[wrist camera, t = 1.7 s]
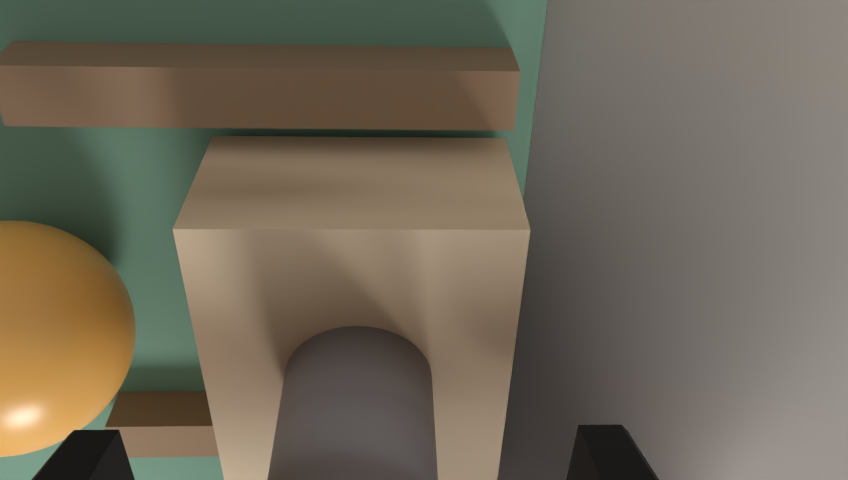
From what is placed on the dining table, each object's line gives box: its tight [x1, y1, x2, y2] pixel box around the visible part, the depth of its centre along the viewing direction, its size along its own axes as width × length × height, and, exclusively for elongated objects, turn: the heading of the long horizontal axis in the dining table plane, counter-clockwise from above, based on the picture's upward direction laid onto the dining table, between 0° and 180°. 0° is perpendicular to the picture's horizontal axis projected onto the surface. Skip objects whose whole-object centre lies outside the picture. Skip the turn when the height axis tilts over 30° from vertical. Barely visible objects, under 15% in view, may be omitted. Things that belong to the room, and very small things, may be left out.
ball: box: [0, 220, 136, 457], centre depth 13 cm, size 4×4×4 cm
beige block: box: [173, 136, 530, 480], centre depth 11 cm, size 6×5×8 cm
